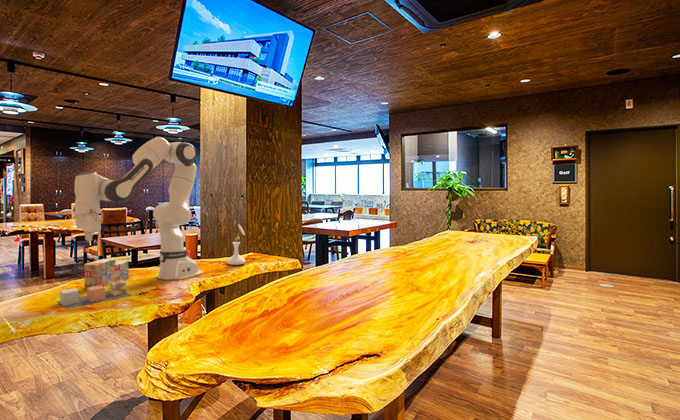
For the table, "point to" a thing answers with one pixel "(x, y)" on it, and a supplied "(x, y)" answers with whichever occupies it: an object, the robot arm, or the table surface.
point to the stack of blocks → (105, 272)
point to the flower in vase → (236, 251)
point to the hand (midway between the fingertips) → (88, 240)
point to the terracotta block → (95, 293)
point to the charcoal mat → (85, 301)
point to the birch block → (117, 287)
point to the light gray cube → (69, 296)
